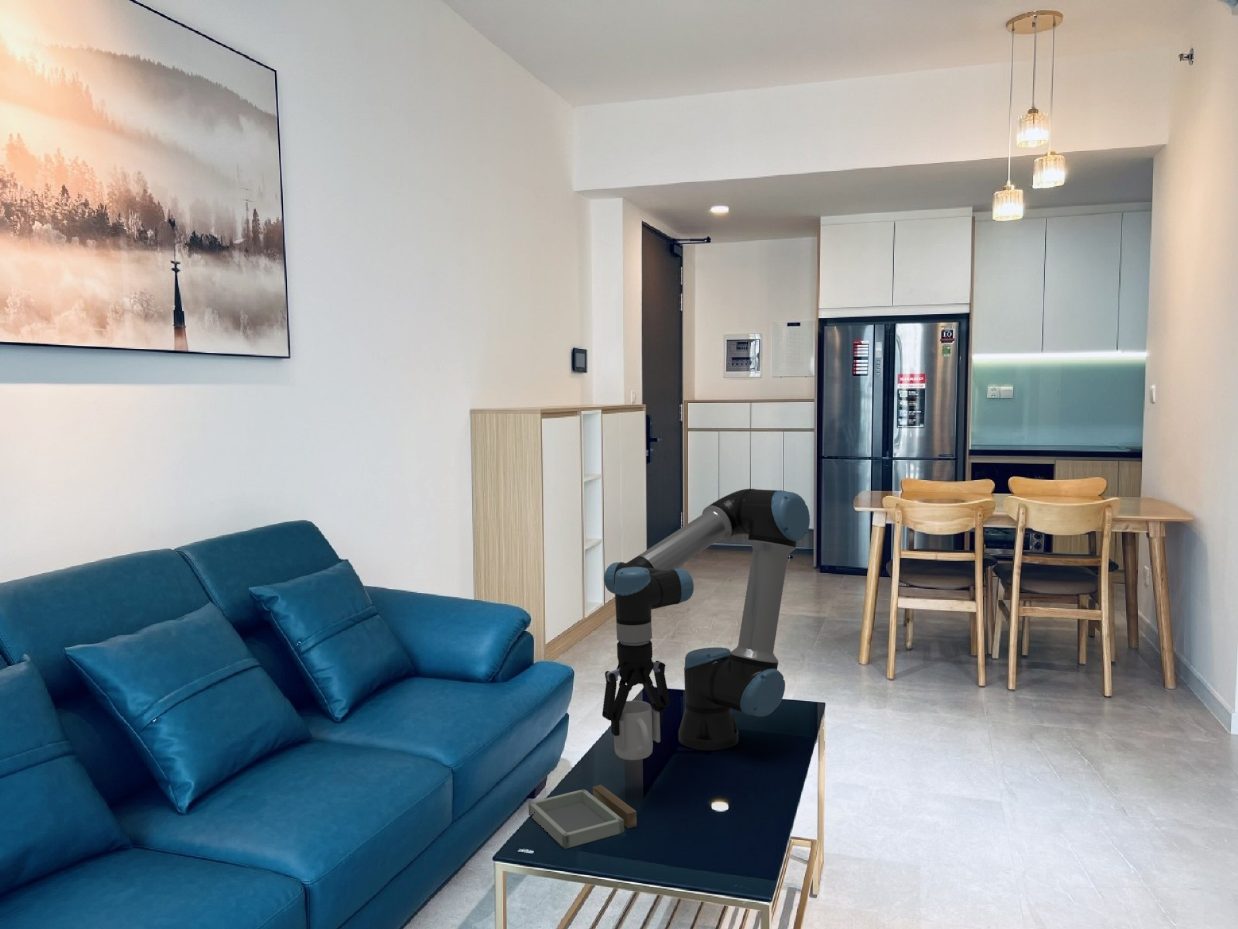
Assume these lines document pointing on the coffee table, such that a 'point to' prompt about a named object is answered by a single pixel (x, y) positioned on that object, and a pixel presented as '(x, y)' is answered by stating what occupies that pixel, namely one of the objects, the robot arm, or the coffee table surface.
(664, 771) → the coffee table surface
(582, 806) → the frame
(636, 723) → the mug
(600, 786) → the edge rail
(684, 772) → the coffee table surface
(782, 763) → the coffee table surface
